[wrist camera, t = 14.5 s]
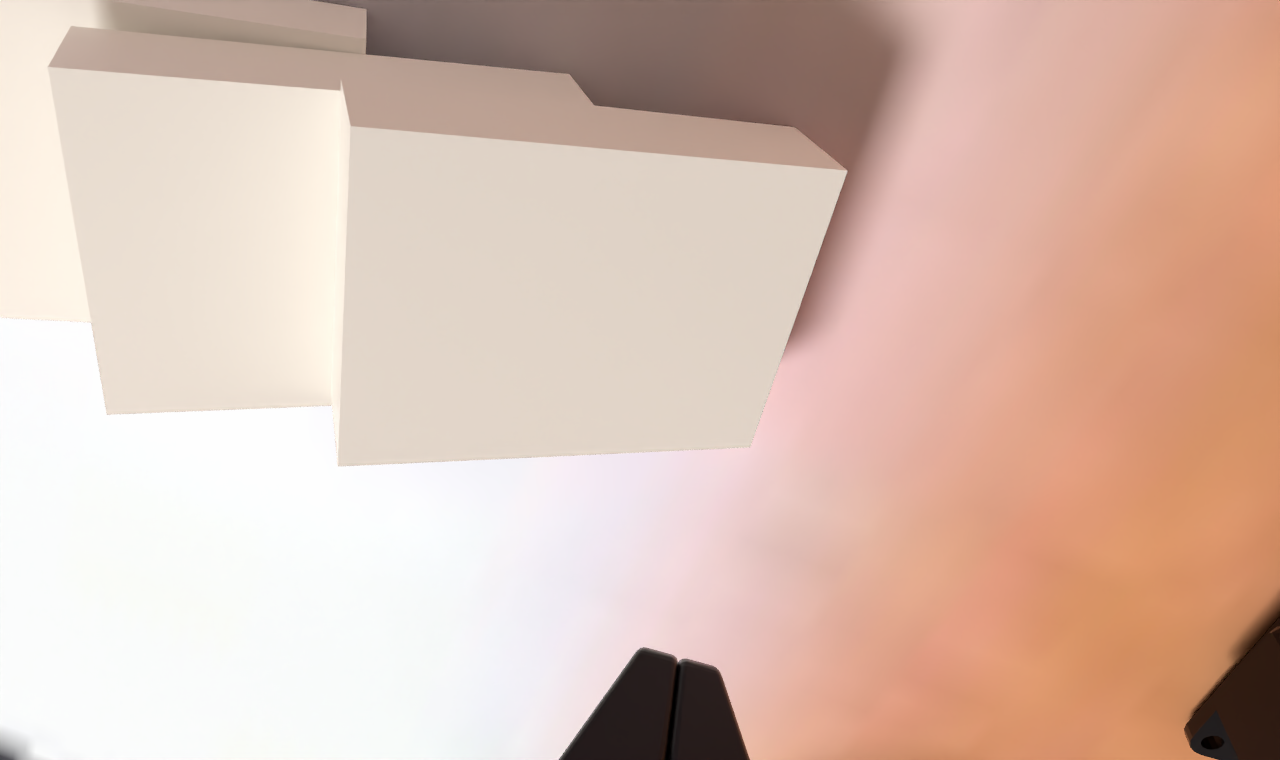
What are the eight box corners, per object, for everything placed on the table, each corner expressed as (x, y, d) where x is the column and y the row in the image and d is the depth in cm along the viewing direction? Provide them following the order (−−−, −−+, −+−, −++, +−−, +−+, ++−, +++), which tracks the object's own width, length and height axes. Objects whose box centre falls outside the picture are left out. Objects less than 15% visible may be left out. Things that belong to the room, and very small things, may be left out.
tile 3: (366, 39, 15) (-220, -49, 13) (351, 335, 19) (-119, 311, 16) (366, 8, 17) (-157, -75, 14) (353, 287, 20) (-76, 258, 18)
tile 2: (599, 111, 15) (47, 67, 12) (552, 396, 19) (107, 414, 16) (569, 74, 17) (71, 26, 14) (530, 344, 20) (120, 351, 17)
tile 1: (847, 170, 15) (350, 125, 12) (750, 447, 18) (338, 466, 15) (795, 126, 17) (340, 78, 14) (713, 389, 20) (330, 397, 17)
